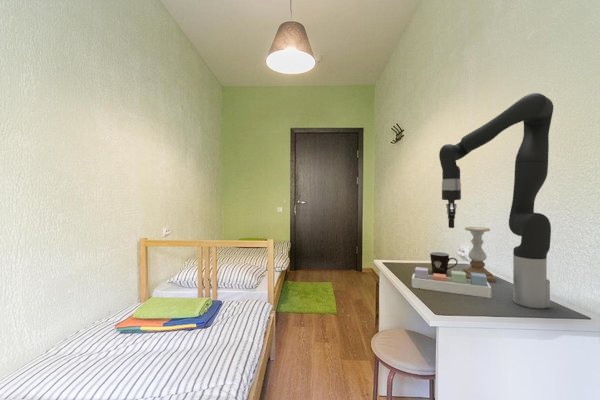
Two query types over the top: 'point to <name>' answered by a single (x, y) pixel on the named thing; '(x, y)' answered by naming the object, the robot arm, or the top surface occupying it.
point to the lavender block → (421, 273)
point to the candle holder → (477, 254)
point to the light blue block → (478, 279)
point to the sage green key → (458, 277)
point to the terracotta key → (439, 277)
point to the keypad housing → (452, 286)
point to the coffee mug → (440, 262)
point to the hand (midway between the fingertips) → (451, 227)
